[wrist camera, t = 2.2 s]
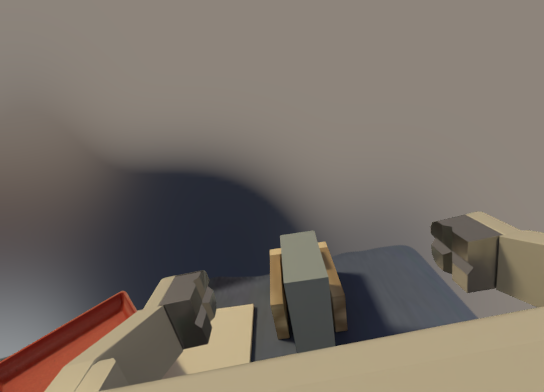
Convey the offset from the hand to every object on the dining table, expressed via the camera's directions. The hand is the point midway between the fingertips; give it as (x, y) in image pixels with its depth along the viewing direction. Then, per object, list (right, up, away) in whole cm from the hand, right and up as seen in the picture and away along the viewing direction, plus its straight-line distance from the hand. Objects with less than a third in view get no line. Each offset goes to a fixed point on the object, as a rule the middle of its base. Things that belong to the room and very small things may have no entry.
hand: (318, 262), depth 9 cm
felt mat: (-10, -18, +25) cm, 32 cm away
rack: (+4, -13, +29) cm, 33 cm away
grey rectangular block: (+4, -16, +23) cm, 28 cm away
